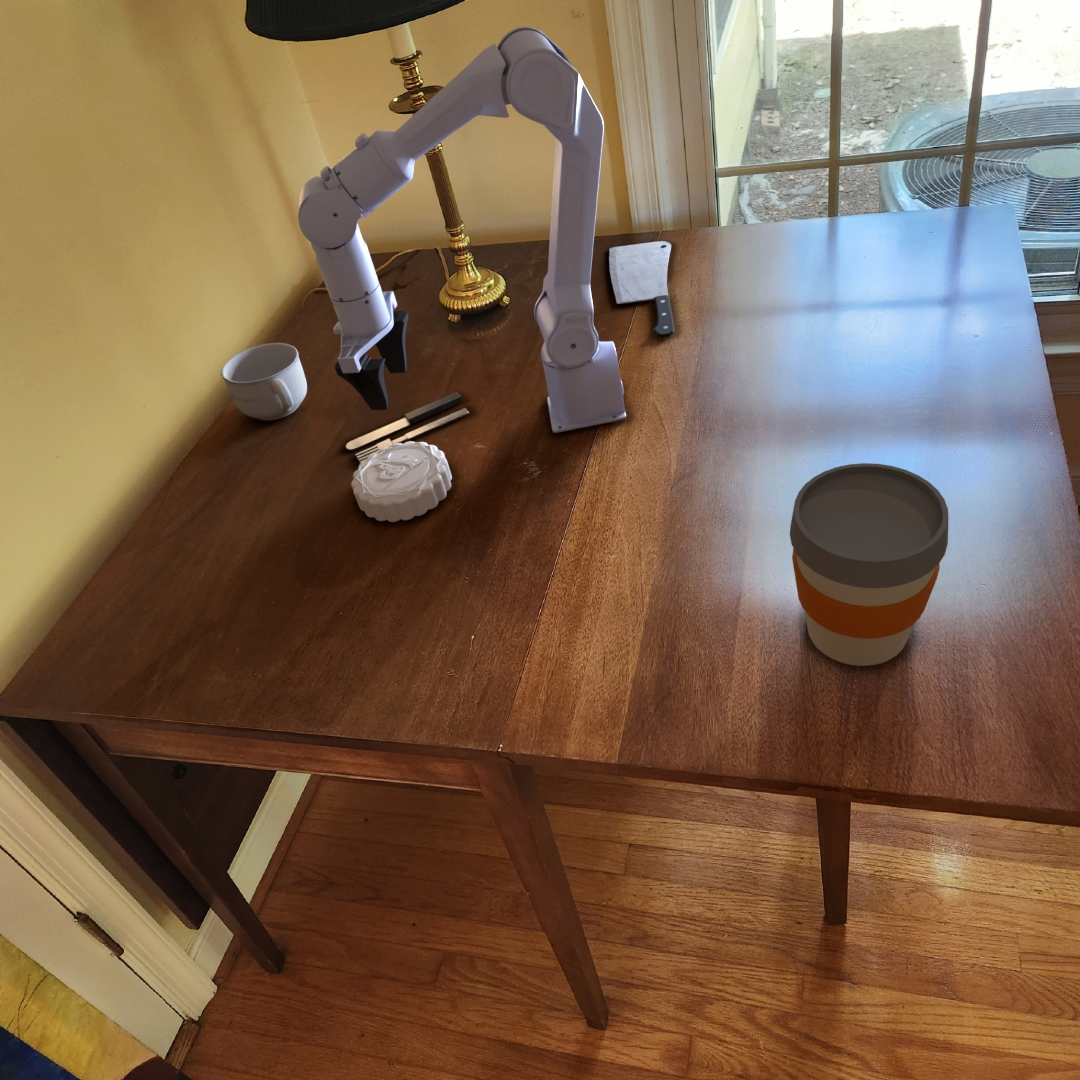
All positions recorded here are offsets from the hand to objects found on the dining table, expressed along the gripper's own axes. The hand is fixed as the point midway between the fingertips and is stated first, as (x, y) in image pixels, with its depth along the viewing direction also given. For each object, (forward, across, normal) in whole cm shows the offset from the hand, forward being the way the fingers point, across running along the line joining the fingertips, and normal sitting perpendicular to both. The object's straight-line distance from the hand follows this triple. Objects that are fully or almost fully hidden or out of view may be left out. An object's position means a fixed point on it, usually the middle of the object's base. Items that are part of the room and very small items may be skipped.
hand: (389, 389), depth 110 cm
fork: (+10, -4, -1) cm, 11 cm away
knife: (+10, -6, -3) cm, 12 cm away
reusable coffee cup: (+10, +28, +53) cm, 61 cm away
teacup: (+10, -10, -23) cm, 27 cm away
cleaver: (+10, -38, +26) cm, 47 cm away
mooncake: (+10, +7, +2) cm, 13 cm away
